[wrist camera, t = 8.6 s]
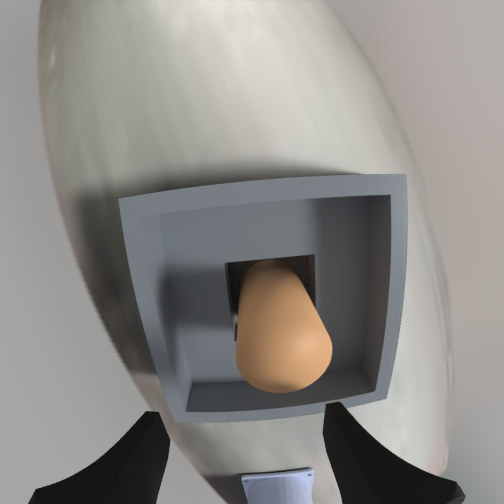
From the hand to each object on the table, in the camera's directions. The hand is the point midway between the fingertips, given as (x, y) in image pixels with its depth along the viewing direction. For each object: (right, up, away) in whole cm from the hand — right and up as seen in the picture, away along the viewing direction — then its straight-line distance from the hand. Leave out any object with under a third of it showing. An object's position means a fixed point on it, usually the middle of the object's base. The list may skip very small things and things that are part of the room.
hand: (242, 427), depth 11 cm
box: (+2, +5, +8) cm, 10 cm away
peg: (+2, +5, +8) cm, 10 cm away
